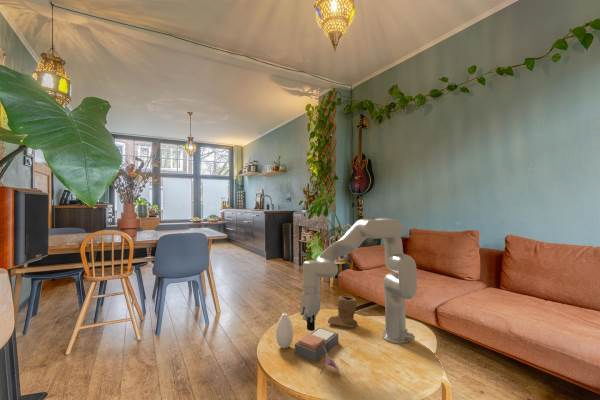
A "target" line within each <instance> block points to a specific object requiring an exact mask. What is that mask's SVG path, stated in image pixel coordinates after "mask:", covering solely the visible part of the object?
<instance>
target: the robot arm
mask: <svg viewBox="0 0 600 400" xmlns="http://www.w3.org/2000/svg"><path fill="white" fill-rule="evenodd" d="M402 233H403V224H402V223H401V221H400V220H398V219H394V218H386V217H378V218H375V219H369V218H360V219H358V220H357V221H355V223H354V224H353V225H352V226H351V227H350V228H349V229H348V230H346V233H344V235H343V236H342V237H340V238H339V240H337V241H335V242H334V243H332V244H331V245H329V246H327V248H325V249H324V250H323V251H322V252H321V253H320V254H319V256H317V258H316V259H315V260H313V259H311V260H310V259H307V260H305V261H304V262H303V264H302V293H301V297H300V305H299V307H300V308H299V314H300V315H301V316H302V320H303V321H306V330H307V331H310V332H313V331H315V330H316V327H315V326H316V324H315V323H316V319H317V315H318V314H319V312H320V311H321V296H320V281H321V280H320V278H324V279H325V278H326V279H333V278H334V277H335V276H337V275H338V273H339V267H338V265H337V263H335V260H337V259H338V258H340V257H341V256H344V255H349V254H352V253H354V252H356V250H357V249H358V248H359V247H360V245H362V243H363V242H364V241H365V240H366V239H367V238H368V239H378V240H379V239H380V240H381V239H382V240H383V244H384V264H385V267H386V268H387V269H388V270H390V271H392V272H389V273H386V275H385V276H384V277H383V281H382V286H383V291H384V306H385V307H384V308H385V309H384V310H385V311H384V315H385V316H384V318H385V319H384V321H385V324H384V325H385V328H384V329H385V330H383V332H382V333H381V336H382V338H383V339H384V340H385V341H387V342H389V343H392V344H399V345H400V344H401V345H403V344H406V343H408V342H409V341H410V340H412V341H415V339H416V337H415V335H414V333H412V332H408V328H407V327H406V325H407V323H406V320H407V319H406V300H412V299H413V298H414V297H415V296H416V294H417V290H418V275H417V273H418V271H417V264H416V261H415V259H414V258H413V257H412V256H410V255H408V254H405V253H404V249H403V241H402V237H401V234H402Z"/></svg>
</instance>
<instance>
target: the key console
mask: <svg viewBox="0 0 600 400" xmlns="http://www.w3.org/2000/svg"><path fill="white" fill-rule="evenodd" d="M318 329H323V330H326V331H329V332H332V333H335V335H333V336H332V337H331V338H330V339H328V340H327V341H325V340H324V343H323V344H322V345H323V346H324V347H323V346H322V345H321V346H320V347H318V348H317V349H316V350H313V349H310V348H307V347H305V346H302V345H299V341H297V342H296V343H295V344H294V355H296V356H298V357H300V358H303V359H305V360H308V361H310V362H313V363H315V364H316V363H318V361H320V359H322V358H323V357H324V356H326V355H325V354H326V351H327V354H328V353H329V352H330V351H332V349H334V348H335V347H336V346H337V345H338V344H339V333H337V332H335V331H334V332H333V331H332V330H329V329H328V330H327V329H325V328H322V327H318V328H315V330H313V331H311V332H310V333H309V334H313V333H314V332H315V331H317V330H318ZM324 348H325V349H326V351H325V349H324Z"/></svg>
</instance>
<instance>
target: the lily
mask: <svg viewBox="0 0 600 400" xmlns="http://www.w3.org/2000/svg"><path fill="white" fill-rule="evenodd" d="M322 346H323V345H322ZM323 347H324V346H323ZM324 349H325V348H324ZM325 351H326V349H325ZM324 356H325V364H324V366H323V367H322V369H321V370H320V375H321V374H322V373H323V370H324V369H325V367H326V366H329V367H332V368H334V369H335V371H337V373H338V374H339V375H341V373H340V371H339V368H338V365H337V363H336V362H335V359H336V358H335V357H330V356H329V354H328V353H327V351H326V354H325V355H324Z"/></svg>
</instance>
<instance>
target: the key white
mask: <svg viewBox="0 0 600 400" xmlns="http://www.w3.org/2000/svg"><path fill="white" fill-rule="evenodd" d="M317 329H318V328H317ZM323 329H324V328H322V329H318V330H317V331H315V330H314V331H315V332H314V333H313V334H311V335H314V336H317V337H320V338H323V339H324V340H325V341H327V340H328V339H330V338H331V337H332V336H333V335H335V333H336V332H335V333H332V332H333V331H332V332H329V331H330V330H328V331H326V330H327V329H325V330H323Z"/></svg>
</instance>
